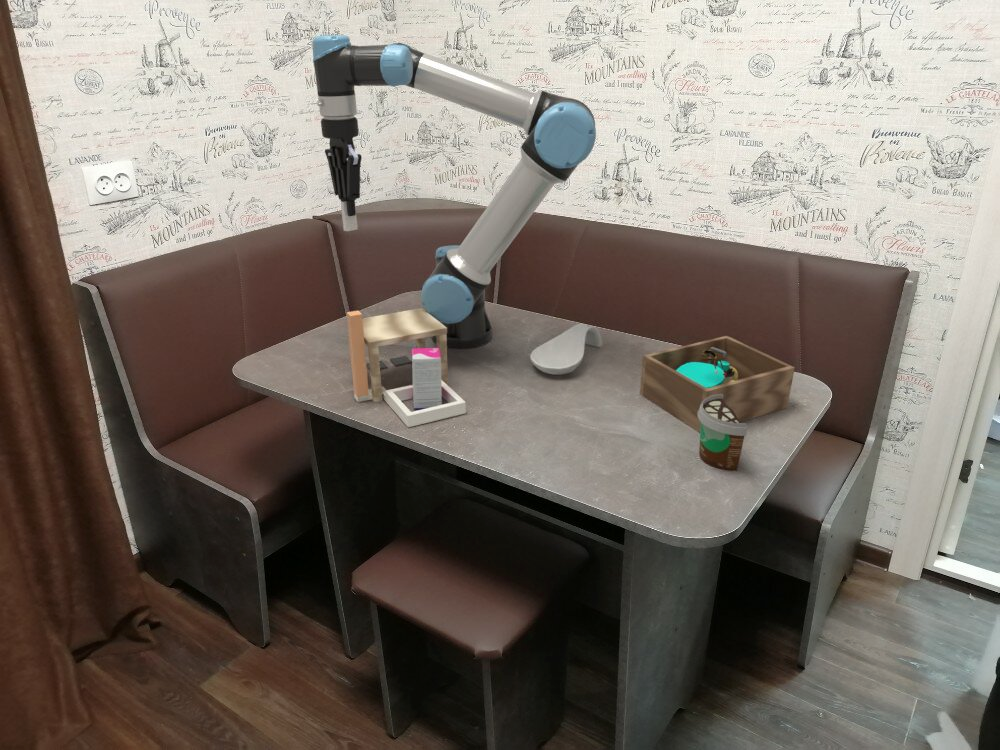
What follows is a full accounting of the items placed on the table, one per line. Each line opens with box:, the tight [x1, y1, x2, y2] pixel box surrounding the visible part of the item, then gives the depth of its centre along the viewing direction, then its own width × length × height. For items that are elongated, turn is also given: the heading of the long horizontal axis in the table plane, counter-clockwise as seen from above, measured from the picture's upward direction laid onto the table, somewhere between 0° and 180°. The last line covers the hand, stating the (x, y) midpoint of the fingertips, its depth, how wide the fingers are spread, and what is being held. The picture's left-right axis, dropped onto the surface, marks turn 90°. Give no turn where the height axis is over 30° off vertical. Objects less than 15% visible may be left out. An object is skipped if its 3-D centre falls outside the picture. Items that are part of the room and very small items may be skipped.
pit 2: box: [389, 355, 412, 367], centre depth 173 cm, size 4×4×1 cm
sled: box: [346, 310, 467, 428], centre depth 149 cm, size 18×17×19 cm
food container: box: [697, 394, 748, 472], centre depth 132 cm, size 12×6×10 cm, turn 5°
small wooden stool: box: [362, 307, 449, 403], centre depth 160 cm, size 17×14×14 cm
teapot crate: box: [639, 335, 796, 434], centre depth 153 cm, size 23×19×9 cm
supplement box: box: [411, 347, 443, 412], centre depth 151 cm, size 6×6×12 cm
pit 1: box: [366, 359, 389, 371], centre depth 170 cm, size 4×4×1 cm
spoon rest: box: [529, 323, 603, 376], centre depth 172 cm, size 24×12×7 cm, turn 146°
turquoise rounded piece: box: [676, 347, 738, 388], centre depth 152 cm, size 14×18×15 cm
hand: (350, 229), depth 164 cm, fingers closed
